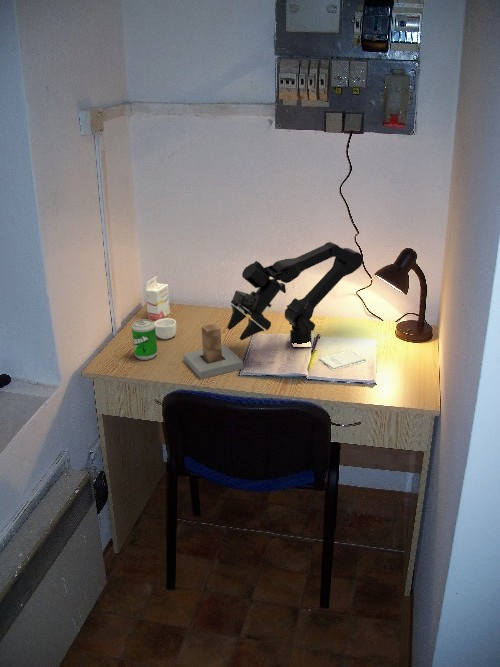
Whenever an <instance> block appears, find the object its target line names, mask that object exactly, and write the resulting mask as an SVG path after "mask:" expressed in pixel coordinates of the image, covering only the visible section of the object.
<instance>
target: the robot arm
mask: <svg viewBox="0 0 500 667" xmlns="http://www.w3.org/2000/svg"><path fill="white" fill-rule="evenodd" d="M333 257H334V261H333V264H332V267H331V268H330V269H329V270H328V271H327V272H326V273H325V274H324V275H323V276H322V278H321V279H320V280H319V281H318V282H317V283H316V284H315V285H314V286H313V288H311V290H310V291H309V292H308V293H307V294H306V295H305V296H304V297H303V298H301V299H298V298H296V297H295V298H293V299H292V301H291V302H290V303H289V304H288V305H286V309H285V310H284V318H285V319H286V321H287V322H288V323H289V325H291V330H289V343H290V342H291V343H293V344H294V343H297V344H302V343H307V342H309V341H310V342H311V343H312V331H313V332H314V331H315V327H316V324H315V323H314V322H313V321H312V320H311V319H312V317H313V315H314V314H313V313H314V310H315V308H316V307H317V306H318V305H319V304H320V302H321V301H323V300H324V298H325V297H326V296H327V295H328V294H329V293H330V291H332V290H333V289H334V288H335V286H337V284H338V283H340V281H341V280H342V279H343V278H344V277H346V276H348V275H351V274H353V273H354V272H356V271H357V270H359V269H360V268H361V266H362V265H363V260H364V258H363V255H362V254H361V253H360V252H359V251H355V250H354V249H351V248H350V247H341V246H339V245H338V244H336V243H334V242H332V241H328V242H326V243H324V245H320V246H319V247H316V248H314V249H312V250H310V251H308V252H306V253H304V254H301V255H300V256H296V257H293V258H285V259H281V260H277V261H275V262H274V263H273V264H271V265H269V266H266V267H264V266H263V265H262V263H261V262H259V261H257V260H255V261H254V263H250V264H249V265H247V266H245V268H244V269H243V271H242V274H241V276H242V278H243V279H244V280H245V281H246V282H247V283H249V284H250V285H251V286H253V287H254V288H255V289H257V290H256V291H254V290H253V291H251V292H249V293H248V292H247V293H246V292H243V291H239V290H235V293H234V295H233V297H232V300H231V301H230V303H231V305H230V307H231V308H232V309H231V310H232V312H231V313H232V314H231V316H230V320H229V322H228V325H227V327H226V329H227V330H229V331H230V330H232V329H233V328H235V327H236V326H237V325H238V324H240V323H241V322H242V321H243V320H245V319H246V318H247V315H249V316H250V317H248V321H247V322H248V324H247V325H246V326H245V329H244V330H243V331H242V333H241V335H240V336H239V340H240V341H244V340H245V339H248V338H249V337H252V336H253V335H256V334H258V333H260V332H265V330H266V331H267V332H268V331H269V329H270V328H271V326H272V321H270V320H269V319H268V318H267V317H265V316H264V314H263V313H264V311H265V310H266V309H267V308H271V307H272V304H271V303H272V301H273V300H274V298H275V297H276V296H277V295H278V293H280V292H282V293H283V294H286V293H287V290H286V284H288V283H291V282H292V281H295V279H297V278H299V276H300V275H301V273H302V272H304V271H305V270H308V269H310V268H312V267H314V266H316V265H318V264H321V263H322V262H325V261H327V260H329V259H332V258H333ZM279 281H280V282H279ZM291 343H290V344H291Z"/></svg>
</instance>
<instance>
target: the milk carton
mask: <svg viewBox="0 0 500 667" xmlns="http://www.w3.org/2000/svg"><path fill="white" fill-rule="evenodd" d="M169 295H170V294H169V284H166V283H159V282H158V275H156V276H154V277H152V278H151V279H149V280H148V281H146V282H145V296H146V307H147V308H146V309H147V318H148V320H151V321H157V320H159V319H164V318H165V317H166V316H168V315H169V314H170V312H171V311H170V296H169ZM167 314H168V315H167ZM163 317H164V318H163Z"/></svg>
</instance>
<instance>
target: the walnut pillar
mask: <svg viewBox="0 0 500 667" xmlns="http://www.w3.org/2000/svg"><path fill="white" fill-rule="evenodd" d="M201 336H202V338H201V339H202V349H203V359H204V361H205V362H206V363H207V364H209V363H213V362H218V361H222V349H221V345H222V330H221V328H220V326H218V325H217V324H216V323H212V324H207V325H201Z"/></svg>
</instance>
